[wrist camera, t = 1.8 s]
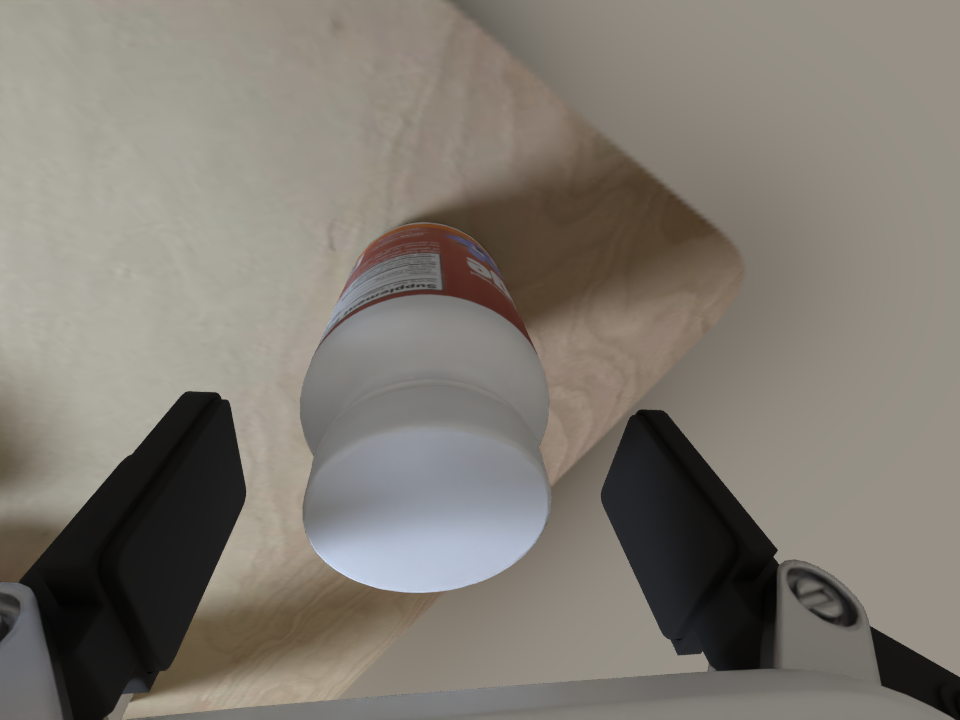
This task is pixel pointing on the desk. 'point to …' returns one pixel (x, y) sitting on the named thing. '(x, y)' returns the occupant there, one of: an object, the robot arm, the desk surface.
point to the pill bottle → (425, 419)
